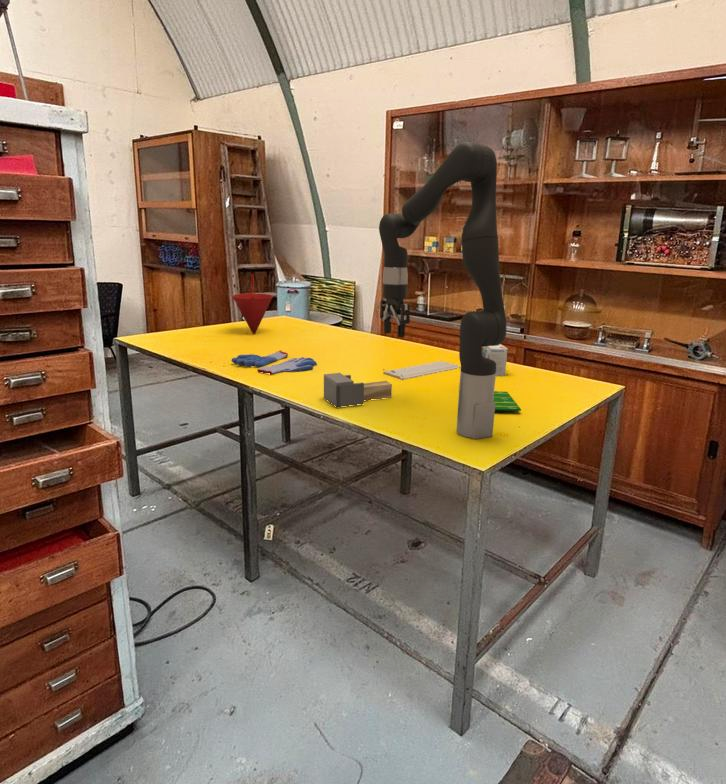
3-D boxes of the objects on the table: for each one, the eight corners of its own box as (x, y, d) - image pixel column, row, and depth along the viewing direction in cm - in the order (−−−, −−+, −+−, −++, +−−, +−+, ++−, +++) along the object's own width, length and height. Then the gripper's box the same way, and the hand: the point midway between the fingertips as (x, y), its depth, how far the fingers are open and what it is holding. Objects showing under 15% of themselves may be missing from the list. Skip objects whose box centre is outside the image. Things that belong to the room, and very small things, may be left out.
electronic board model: (522, 392, 171) (472, 391, 171) (520, 414, 173) (470, 413, 173) (501, 368, 199) (458, 367, 200) (499, 387, 201) (456, 386, 201)
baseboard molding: (462, 370, 226) (440, 364, 235) (463, 363, 225) (441, 357, 234) (404, 382, 207) (383, 375, 216) (404, 374, 206) (383, 368, 215)
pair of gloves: (327, 367, 226) (327, 358, 225) (278, 379, 207) (278, 370, 206) (273, 354, 245) (273, 346, 244) (224, 364, 226) (223, 355, 225)
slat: (391, 398, 186) (391, 384, 185) (340, 405, 179) (340, 389, 178) (385, 395, 190) (386, 380, 188) (335, 401, 182) (335, 386, 181)
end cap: (363, 404, 179) (364, 380, 176) (336, 408, 175) (336, 383, 173) (349, 395, 188) (349, 371, 186) (323, 398, 184) (323, 374, 182)
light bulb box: (480, 369, 225) (482, 342, 222) (497, 369, 226) (499, 342, 223) (488, 376, 215) (490, 348, 212) (505, 376, 216) (508, 348, 213)
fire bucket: (233, 331, 292) (230, 271, 284) (271, 330, 297) (270, 271, 288) (234, 339, 272) (231, 275, 264) (276, 338, 277) (274, 275, 268)
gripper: (418, 283, 170) (416, 338, 174) (394, 280, 182) (393, 331, 186) (396, 284, 167) (394, 339, 171) (373, 281, 179) (372, 332, 183)
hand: (393, 335), depth 179 cm, fingers open, 8 cm apart
